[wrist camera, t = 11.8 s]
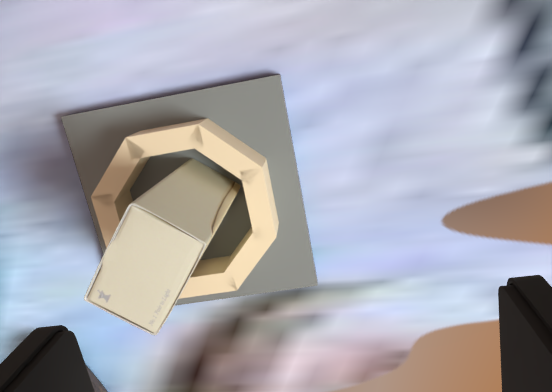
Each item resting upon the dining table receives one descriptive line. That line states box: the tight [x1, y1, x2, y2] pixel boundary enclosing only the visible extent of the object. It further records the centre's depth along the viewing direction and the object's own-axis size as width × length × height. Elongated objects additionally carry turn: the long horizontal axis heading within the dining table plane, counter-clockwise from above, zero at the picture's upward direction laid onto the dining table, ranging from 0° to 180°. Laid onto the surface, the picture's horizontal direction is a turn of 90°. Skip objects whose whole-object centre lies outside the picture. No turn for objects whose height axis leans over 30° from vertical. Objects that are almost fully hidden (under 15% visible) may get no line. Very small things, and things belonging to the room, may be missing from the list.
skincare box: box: [84, 159, 240, 335], centre depth 29 cm, size 6×4×12 cm
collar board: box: [61, 74, 317, 305], centre depth 34 cm, size 16×16×4 cm
